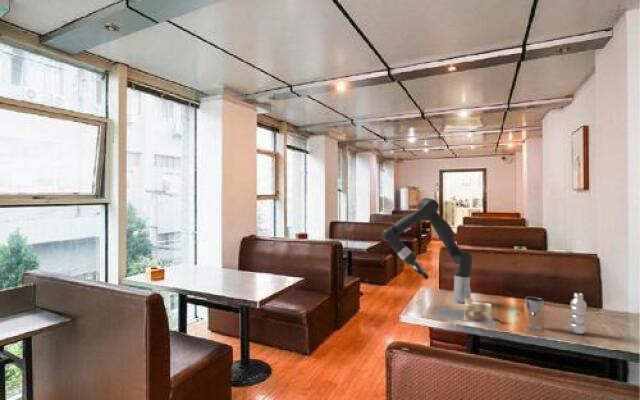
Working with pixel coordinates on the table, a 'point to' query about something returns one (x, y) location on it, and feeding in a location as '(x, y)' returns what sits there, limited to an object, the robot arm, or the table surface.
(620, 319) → the table surface
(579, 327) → the plastic bottle
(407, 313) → the table surface
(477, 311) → the maple T block
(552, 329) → the table surface
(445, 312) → the T board
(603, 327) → the table surface
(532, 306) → the wine glass
